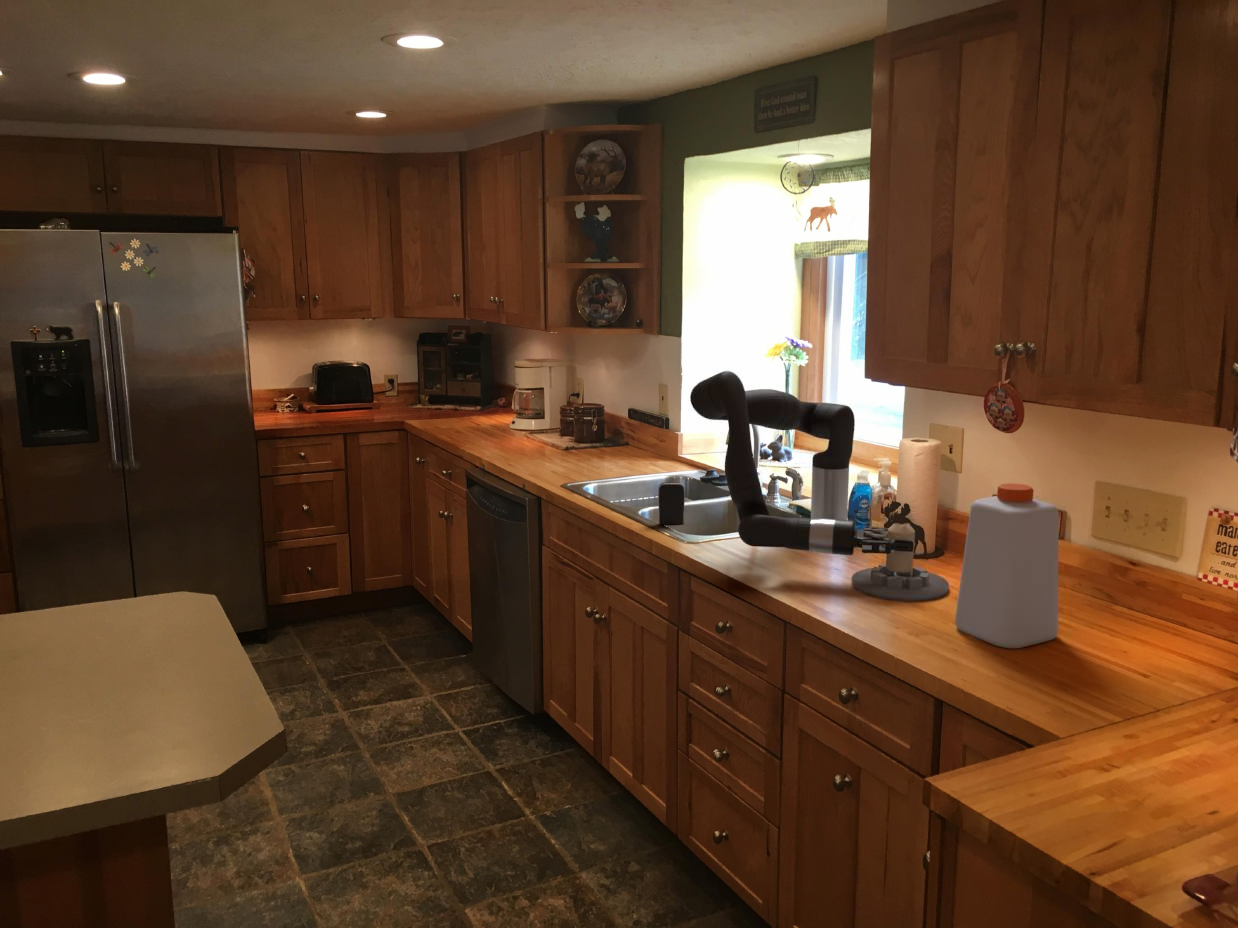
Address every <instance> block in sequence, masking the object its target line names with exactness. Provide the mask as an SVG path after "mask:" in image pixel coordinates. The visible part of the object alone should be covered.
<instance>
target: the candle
mask: <svg viewBox="0 0 1238 928" xmlns="http://www.w3.org/2000/svg"><path fill="white" fill-rule="evenodd" d="M915 536H916V530H915V529H914V528H913V527H912V526H911V524H910V523H909V522H906V523H902V524H901V523H897V522H896V523H893V524H892V525H891V526H890V527H889V529H888V538H889V539H894V540H906V541H913V542H914V543H915V538H916V537H915ZM914 552H915V546H914V547H913V551H912V552H906V551H895V550H894V552H891V554H886V557H885V559H886V560H885V564H886V569H888V570H890V571H893V572H910V571H912V569H913V568H914Z"/></svg>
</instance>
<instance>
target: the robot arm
mask: <svg viewBox="0 0 1238 928" xmlns="http://www.w3.org/2000/svg"><path fill="white" fill-rule="evenodd" d="M744 387H745V386H744V384H743V382H742V379H741V378H740V377H739V376H738V374H736V373H734V372H733V371H730V370H725V371H724V370H723V371H721V372H718V373H717V374H714V375H713V376H710V377H708V378H706V379H703V380H701V381H699V382H698V383H697V384H696V385H695V386H694V387H693V388H692V389H691V392H690V396H689V398H690V404H691V406H692V408H693V409H694V411H695V412H696V413H697V415H700V416H701V417H702V418H704V419H707V420H710V421H727V423H728V440H727V448H726V452H725V458H724V459H725V460H724V474H725V480H726V485H727V487H728V492H729V494H730V495H729V496H730V498H731V500H732V503H733V505H734V506H735V508H736V511H737V512H736V513H737V516H738V519H739V525H738V529H737V530H738V531H737V533H738V536H739V538H740V539H741V541H742V542H743V543H744V544H745V545H747V546H749V547H750V546H751V547H756V548H757V547H759V548H761V547H762V548H785V549H789V550H796V551H797V550H798V551H807V552H809V551H810V552H815V553H819V554H828V555H829V554H831V555H840V556H841V555H843V556H852V555H853V554H854V552H855V548H858V549H861V553H862V554H880V555H881V554H886V555H887V554H891V552H894V550H895V551H906V552H912V551H913V547H914V548H915V541H914V542H913V541H906V540H894V539H889V538H888V529H889V528H890V527H889V528H888V527H878V526H872V525H871V526H870V525H865V526H864V529H856V526H857V525H856V521H855V520H850V519H848V509H849V508H848V507H849V506H848V505H849V504H848V503H849V480H850V479H849V478H850V477H849V476H850V475H849V474H850V461H851V458H852V453H853V448H854V447H853V446H854V438H855V437H854V435H855V427H856V425H855V422H856V421H855V414H854V411H853V409H852V408H851V407H850V406H849V405H846V404H841V403H840V404H839V403H831V402H829V403H828V402H811V401H804V400H803V401H802V400H800V399H798V398H797V397H796V396H795V395H794V394H792V393H789V392H785V391H782V390H777V389H772V388H771V389H770V388H762V389H761V388H760V389H750V390H746V389H745V388H744ZM750 425H753V426H758V427H759V426H760V427H762V428H766V429H767V428H768V429H772V430H777V431H791V430H792V431H793V430H796V431H799V432H802V433H804V434H807V435H810V436H812V437H813V438H817V439H822V440H828V445H827V449H826V450H823V451H819V452H816V453H814V454H813V455H812V466H811V467H812V468H811V469H812V470H811V499H810V500H811V501H810V503H811V504H810V505H811V506H810V518H806V517H805V518H804V517H781V516H773V515H770V513H769V510H768V507H767V505H766V502H765V499H764V495H763V490H762V486H761V482H760V478H759V474H758V471H757V467H756V463H755V459H754V453H753V446H752V437H751V426H750Z"/></svg>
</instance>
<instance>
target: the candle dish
mask: <svg viewBox="0 0 1238 928" xmlns="http://www.w3.org/2000/svg"><path fill="white" fill-rule="evenodd" d="M851 586H852V588H854V589H855V590H856V591H857V592H859V593H862V594H864V595H866V596H870V597H874V598H877V599H882V600H888V601H895V602H896V601H897V602H909V603H910V602H926V601H933V600H937V599H938V600H939V599H941V598H943V597H945V596H946V595H947V594H948V593H949V590H950V589H949V588H950V583H949V582H948V580H947V579H946V578H944V577H942V576H941V575H938V574H936V573H933V572H929V571H928V570H926V569H924V568H922V567H919V566H916V567H913V568H912V571H910V572H893V571H890V570H888V569H886V563H884V564H883V563H882V564H878V566H873V567H869V568H864V569H860V570H858V571H856V572H854V573H853V574H852V575H851Z"/></svg>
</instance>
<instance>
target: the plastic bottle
mask: <svg viewBox="0 0 1238 928" xmlns="http://www.w3.org/2000/svg"><path fill="white" fill-rule="evenodd" d="M996 494H997V495H994V496H988V497H982V498H978V499H976V500H974V501H973V502H972V503H971V505H970V509H969V517H968V518H969V519H968V524H967V525H968V526H967V531H966V537H965V545H964V552H963V553H964V554H963V559H962V567H961V575H960V582H959V590H958V598H957V602H956V603H957V605H956V611H955V620H954V623H955V626H956V627H957V629H958V630H959V631H960V632H962V633H964V634H967V635H969V636H972V637H974V638H977V639H978V640H982V641H984V642H986V643H989V644H990V645H993V646H996V647H1000V648H1005V649H1021V648H1025V647H1030V646H1033V645H1037V644H1041V643H1044V642H1046V643H1047V642H1050V641H1052V640H1054V639H1055V638H1056V637H1057V636H1058V634H1059V633H1058V632H1059V509H1058V507H1057V506H1056V505H1054V504H1053V503H1049V502H1046V501H1043V500H1039V499H1035V498H1034V488H1033V487H1032V486H1030V485H1027V484H1021V483H1003V484H1002V483H1001V484H1000V485H999V486H998V487H997V493H996Z"/></svg>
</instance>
